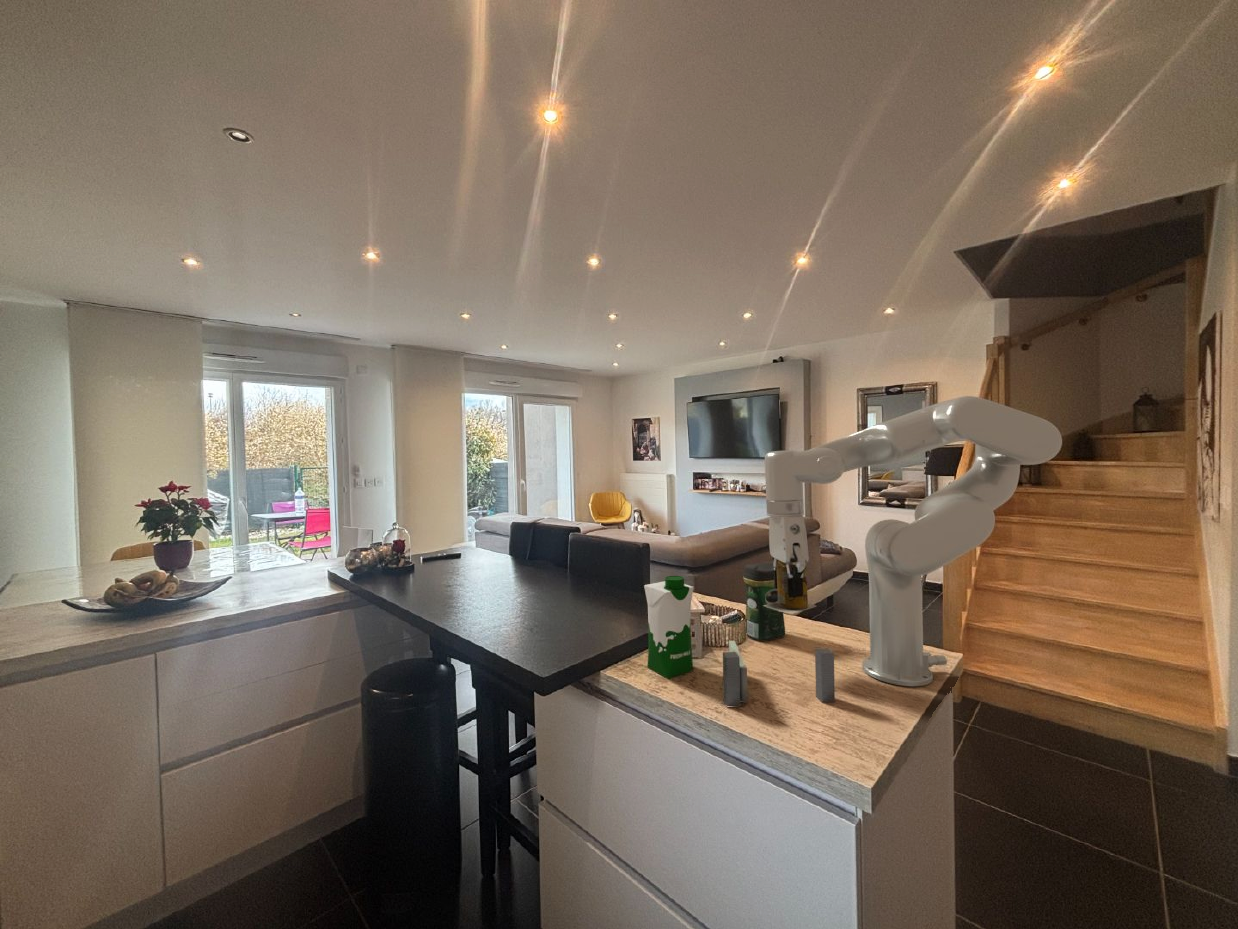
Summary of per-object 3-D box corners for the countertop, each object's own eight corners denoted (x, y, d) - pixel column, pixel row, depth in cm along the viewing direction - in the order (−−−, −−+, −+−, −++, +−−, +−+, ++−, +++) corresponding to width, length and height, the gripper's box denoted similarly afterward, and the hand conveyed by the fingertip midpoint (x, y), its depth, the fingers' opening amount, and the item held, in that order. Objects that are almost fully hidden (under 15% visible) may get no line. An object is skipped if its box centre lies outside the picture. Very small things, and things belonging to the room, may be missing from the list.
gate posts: (828, 695, 91) (827, 648, 91) (834, 702, 88) (833, 653, 88) (723, 700, 89) (722, 652, 89) (727, 707, 87) (726, 657, 87)
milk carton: (666, 682, 98) (665, 583, 98) (641, 666, 105) (639, 575, 105) (699, 671, 102) (697, 577, 102) (672, 657, 110) (670, 569, 110)
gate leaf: (739, 702, 88) (738, 669, 88) (727, 669, 102) (727, 640, 102) (749, 702, 88) (748, 669, 88) (736, 669, 102) (736, 640, 102)
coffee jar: (769, 628, 128) (768, 558, 128) (790, 638, 121) (789, 563, 120) (739, 633, 124) (737, 561, 124) (759, 644, 117) (757, 567, 117)
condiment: (817, 606, 102) (814, 550, 102) (791, 615, 97) (788, 555, 98) (788, 599, 108) (785, 546, 108) (762, 607, 104) (760, 551, 104)
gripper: (821, 511, 95) (825, 602, 95) (785, 504, 112) (789, 581, 112) (783, 513, 94) (787, 605, 94) (754, 505, 112) (757, 583, 112)
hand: (788, 591), depth 103 cm, fingers closed on condiment, 6 cm apart
